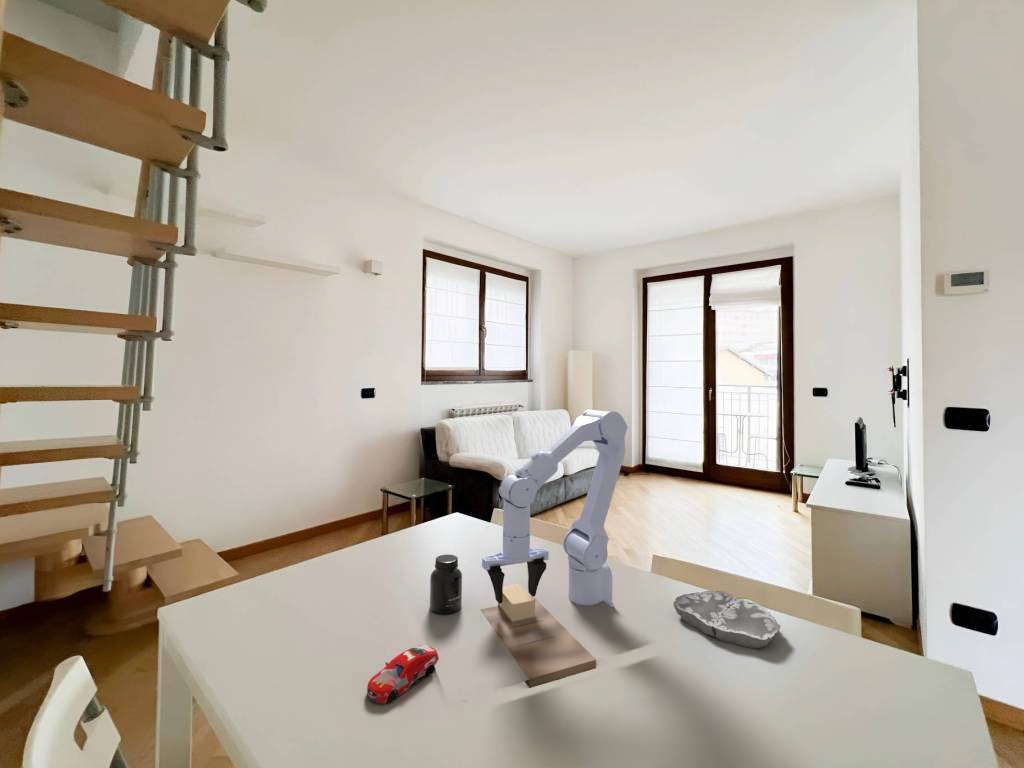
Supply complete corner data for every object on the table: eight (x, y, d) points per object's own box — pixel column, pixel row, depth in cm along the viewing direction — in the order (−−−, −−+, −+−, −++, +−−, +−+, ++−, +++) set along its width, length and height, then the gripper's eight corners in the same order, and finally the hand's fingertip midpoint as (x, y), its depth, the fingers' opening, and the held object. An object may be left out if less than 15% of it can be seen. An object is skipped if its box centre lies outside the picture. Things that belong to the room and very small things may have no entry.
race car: (379, 713, 67) (379, 687, 67) (359, 697, 70) (359, 672, 70) (444, 668, 77) (444, 646, 77) (423, 656, 81) (423, 635, 81)
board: (480, 616, 94) (480, 609, 94) (535, 604, 99) (535, 598, 99) (529, 688, 72) (529, 678, 72) (596, 668, 77) (596, 659, 77)
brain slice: (789, 626, 92) (789, 611, 92) (768, 663, 79) (768, 647, 79) (694, 594, 105) (694, 582, 105) (663, 622, 93) (663, 608, 93)
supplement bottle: (455, 624, 91) (456, 566, 91) (424, 620, 92) (425, 563, 92) (465, 607, 98) (466, 553, 98) (436, 604, 99) (437, 551, 99)
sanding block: (518, 601, 98) (519, 583, 98) (534, 619, 90) (535, 599, 90) (497, 605, 96) (498, 587, 96) (512, 624, 88) (512, 604, 88)
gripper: (538, 523, 100) (537, 583, 100) (477, 531, 94) (476, 595, 94) (553, 533, 93) (552, 597, 93) (489, 542, 87) (488, 611, 87)
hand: (515, 597), depth 93 cm, fingers open, 7 cm apart
